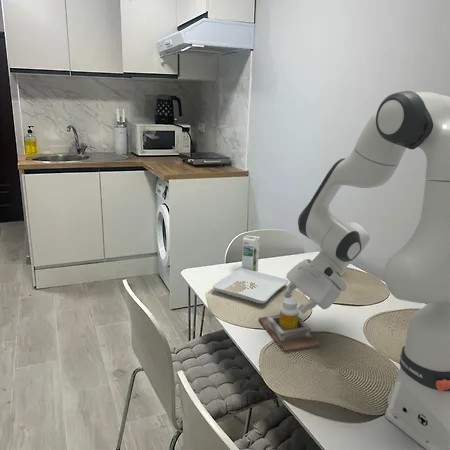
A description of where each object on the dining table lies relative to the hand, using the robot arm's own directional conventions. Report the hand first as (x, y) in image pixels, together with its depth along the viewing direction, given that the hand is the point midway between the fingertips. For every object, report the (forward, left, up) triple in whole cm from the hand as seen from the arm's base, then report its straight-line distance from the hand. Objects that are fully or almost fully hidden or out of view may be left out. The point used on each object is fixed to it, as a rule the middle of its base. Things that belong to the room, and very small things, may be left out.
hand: (292, 304), depth 122 cm
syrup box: (+46, -6, -10) cm, 48 cm away
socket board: (0, +1, -10) cm, 10 cm away
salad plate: (+30, 0, -10) cm, 32 cm away
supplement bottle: (0, +1, -9) cm, 9 cm away
